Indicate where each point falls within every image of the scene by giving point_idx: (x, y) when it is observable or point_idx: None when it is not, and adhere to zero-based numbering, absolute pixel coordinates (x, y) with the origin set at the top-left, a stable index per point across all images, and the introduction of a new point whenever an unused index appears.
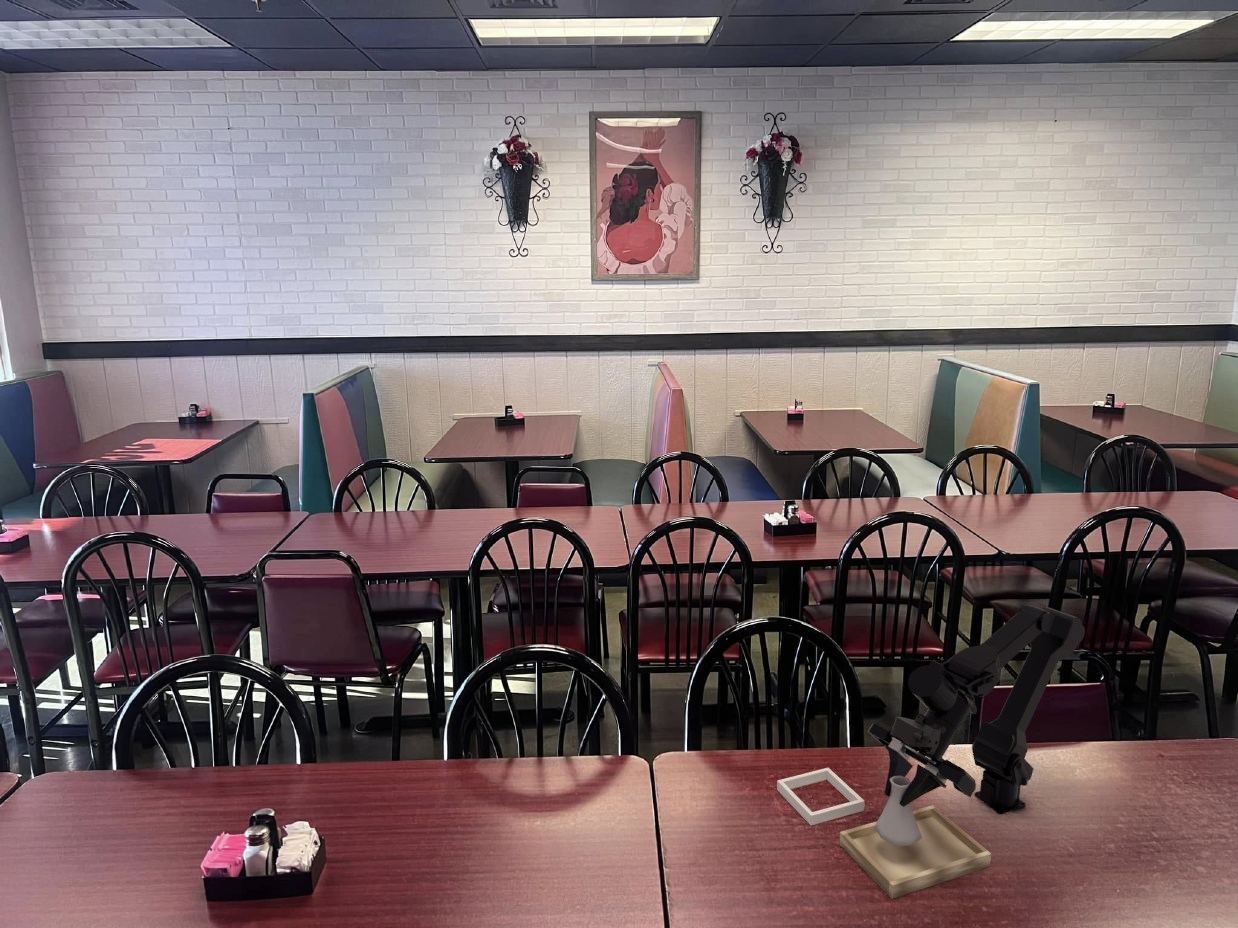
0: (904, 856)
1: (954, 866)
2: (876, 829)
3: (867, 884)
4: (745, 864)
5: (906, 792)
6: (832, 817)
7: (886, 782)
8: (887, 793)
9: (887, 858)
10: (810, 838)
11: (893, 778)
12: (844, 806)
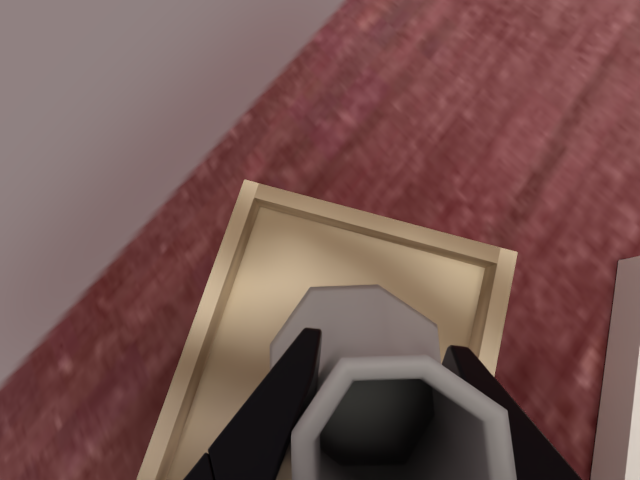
0: None
1: (158, 423)
2: (420, 313)
3: (329, 189)
4: (573, 4)
5: (286, 397)
6: (612, 346)
7: (523, 413)
8: (448, 358)
9: None
10: (566, 211)
11: (487, 454)
12: (633, 406)
